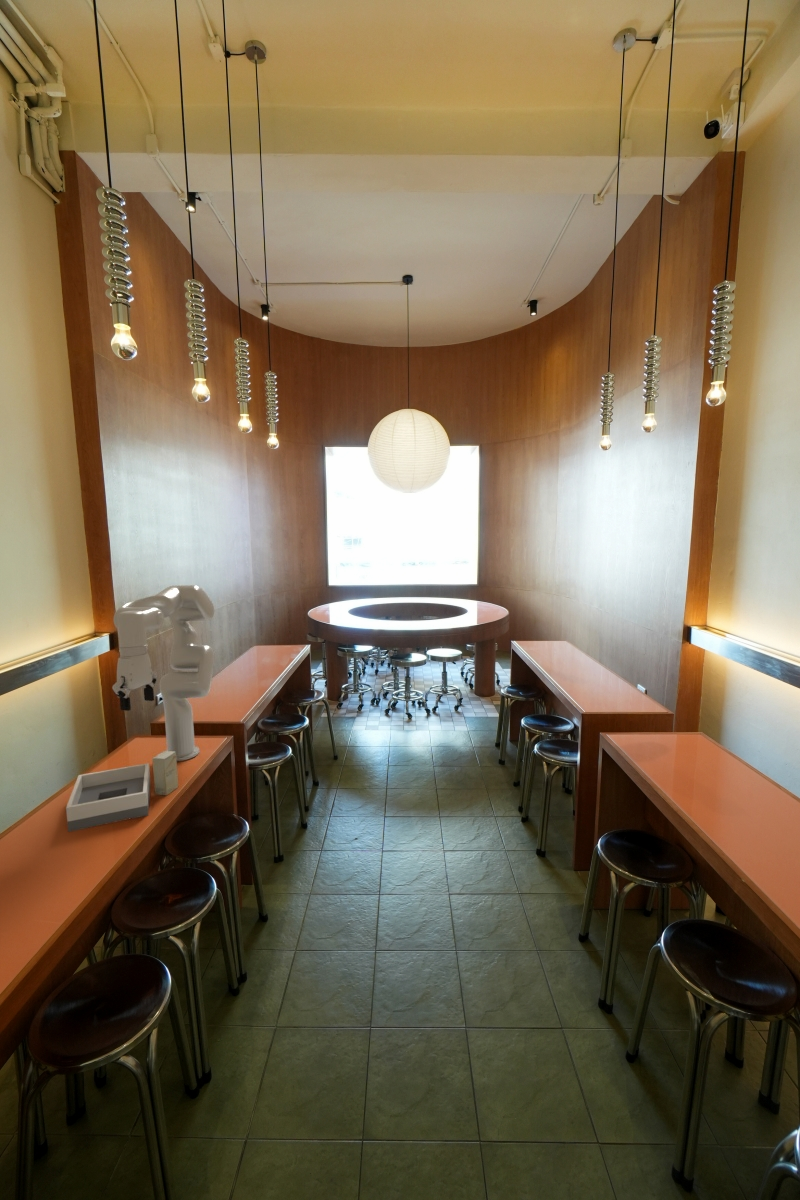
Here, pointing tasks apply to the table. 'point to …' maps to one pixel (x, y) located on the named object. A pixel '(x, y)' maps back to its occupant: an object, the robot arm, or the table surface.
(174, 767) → the skincare box
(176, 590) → the robot arm
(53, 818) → the table surface
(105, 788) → the bore box
